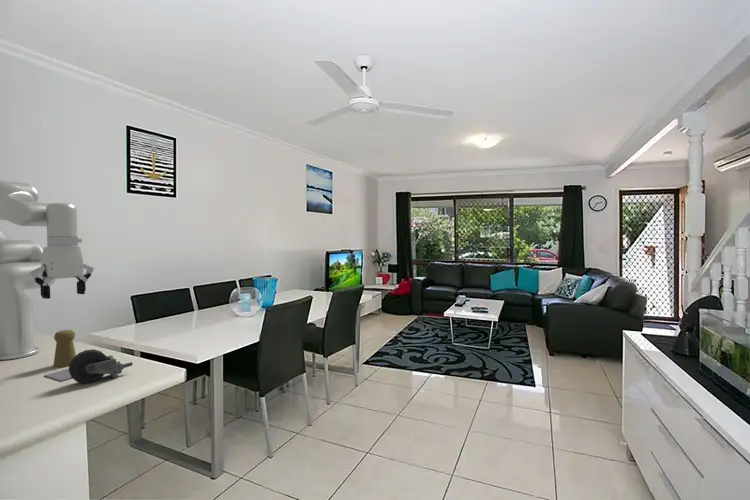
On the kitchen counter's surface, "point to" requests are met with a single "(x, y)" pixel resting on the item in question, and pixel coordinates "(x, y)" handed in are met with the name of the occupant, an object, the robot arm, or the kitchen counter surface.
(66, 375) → the mat
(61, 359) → the cork
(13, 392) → the kitchen counter surface
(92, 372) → the caster wheel
